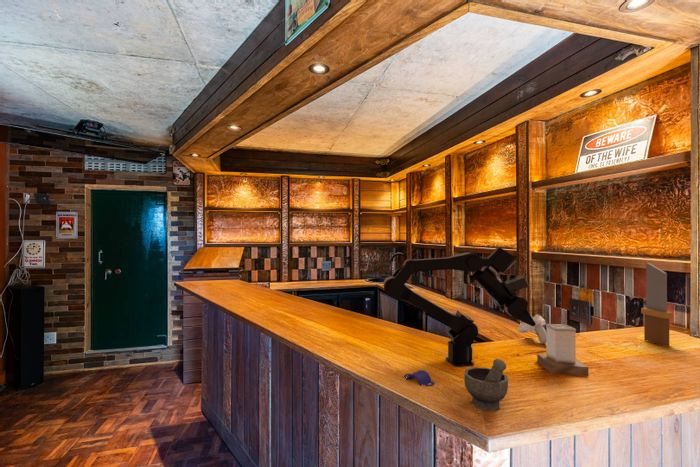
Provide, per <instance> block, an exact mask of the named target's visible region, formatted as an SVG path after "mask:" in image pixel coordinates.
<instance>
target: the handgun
mask: <svg viewBox="0 0 700 467" xmlns="http://www.w3.org/2000/svg"><path fill="white" fill-rule="evenodd" d="M532 319H533V320H534V322H535V323H536V325H535V326H531V325H529V324H526V323H524V322H520V323H519V325H518V328H517V333H530V332H531V333H532V334H533V335H537V338H538V340H539V344H541V345H542V344H543V345H544V344H545V345H546V344H547V330H546V329H545V327H544V326H546V324H547V323H546V320H545V318H543V316H542V315H540V314H535V316H532ZM534 330H535V331H534Z"/></svg>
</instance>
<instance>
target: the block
mask: <svg viewBox="0 0 700 467" xmlns="http://www.w3.org/2000/svg"><path fill="white" fill-rule="evenodd" d="M536 358H537V359H536V360H537V361H536V362H537V363H538V364H539V365H541V366H542V367H543V368H544V370H546V371H548V373H550V374H553V375H554V374H555V375H568V374H570V375H571V376H573V375H574V376H585V375H588V376H589V366H588V365H586V364H585V363H583V362H582V361H580V360H579V359H577V358H576V363H555V362H554V361H553V360H551V359H550V358H548V357H547V353H537V357H536Z"/></svg>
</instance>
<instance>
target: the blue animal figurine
mask: <svg viewBox="0 0 700 467" xmlns="http://www.w3.org/2000/svg"><path fill="white" fill-rule="evenodd" d="M403 375H404V377H405V378H404V377H403V378H404V379H405V380H406V381H408V380H411V379H413V378H414V379H416V380H417V382H418V384H420V385H419V386H424V385H425V386H424V387H434V386H435V385H436V382H434V381H432V378H431V376H430V374H429V373H428V372H427V371H426V370H423V369H421V370H420V369H419V370H418V371H415V372H413V373H406V374H403ZM407 375H408V376H407ZM406 377H407V378H406ZM430 383H431V384H430ZM422 384H423V385H422Z"/></svg>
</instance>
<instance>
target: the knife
mask: <svg viewBox="0 0 700 467" xmlns="http://www.w3.org/2000/svg"><path fill="white" fill-rule="evenodd" d="M645 266H646V268H645V271H646V272H645V273H646V274H645V275H646V276H645V278H646V280H645V282H646V284H645V285H646V288H645V289H646V298H645V299H646V300H645V302H646V307H641V309H640V312H641V315H643V317H644V324H643V325H644V329H643V330H644V332H643V333H644V336H643V338H644V340H643V341H645V340H648V341H651V342H654V343H653V344H655V343H657V344H656V345H658V344H660V345H659V346H662V345H669V346H670V319H673V318H674V317H673V314H674V313H673V312H671V311H668V273H667V272H666V271H664V270H662V269H660V268H659V267H657V266H655V265H653V264H652V263H650V262H645ZM648 341H647V342H648ZM651 342H650V343H651Z"/></svg>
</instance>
